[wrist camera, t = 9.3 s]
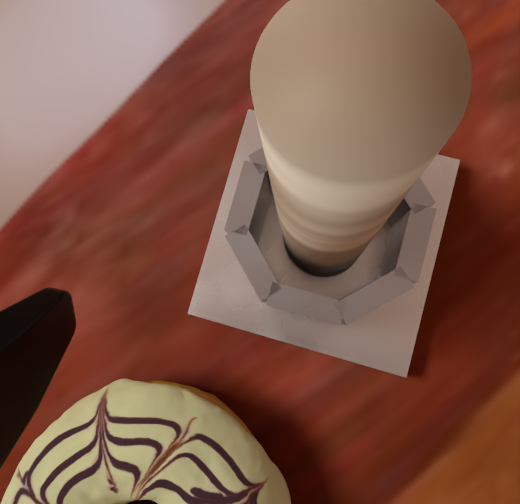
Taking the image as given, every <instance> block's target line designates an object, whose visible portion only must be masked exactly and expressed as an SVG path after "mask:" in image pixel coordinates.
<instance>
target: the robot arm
mask: <svg viewBox="0 0 520 504" xmlns="http://www.w3.org/2000/svg"><path fill="white" fill-rule="evenodd" d="M75 328H76V318H75V313H74V308H73V302H72V297H71V295H70V293H69V292H67V291H64V290H60V289H56V288H45V289H42V290H40V291H39V292H37V293H35V294H33V295H31V296H29V297H27V298H25V299H23V300H21V301H19V302H17V303H15V304H13V305H11V306H10V307H8V308H6V309H4V310H2V311H0V469H1V467H2V466H3V464H4V462H5V461H6V459H7V457H8V456H9V454H10V453H11V451H12V449H13V448H14V446H15V445H16V443H17V441H18V440H19V438H20V436H21V435H22V433H23V432H24V430H25V428H26V427H27V425H28V424H29V422H30V420H31V419H32V417H33V415H34V414H35V412H36V410H37V408H38V407H39V405H40V403H41V401H42V399H43V397H44V395H45V393H46V391H47V389H48V387H49V385H50V383H51V381H52V379H53V377H54V375H55V372H56V370H57V368H58V366H59V364H60V362H61V360H62V358H63V356H64V354H65V351H66V349H67V347H68V345H69V343H70V341H71V339H72V337H73V335H74V332H75Z"/></svg>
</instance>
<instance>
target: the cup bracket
mask: <svg viewBox="0 0 520 504" xmlns="http://www.w3.org/2000/svg"><path fill="white" fill-rule="evenodd" d="M459 163H460V160H458V159H454V158H450V157H446V156H442V155H436V157H435V158H434V159H433V161H432V162H431V163H430V165H429V166H428V167H427V168H426V170H425V171H424V172H423V174H422V175H421V176H420V178H419V179H418V180H417V182H416V183H415V184H414V185H413V187H412V188H411V189H410V191H409V192H408V193H407V195H406V196H405V197H404V199H403V200H402V201H401V203H400V204H399V205H398V206H397V208H396V209H395V210H394V212H393V213H392V214H391V216H390V217H389V218H388V220H387V221H386V222H385V224H384V225H383V226H382V227H381V229H380V230H379V231H378V233H377V234H376V235H375V237H374V238H373V239H372V241H371V242H370V243H369V245H368V246H367V247H366V248H365V250H364V251H363V252H362V254H361V255H360V256H359V258H358V259H357V260H356V262H355V263H354V264H353V265H352V266H351V267H350V268H349V269H347V270H346V271H344V272H343V273H340V274H338V275H335V276H331V277H316V276H312V275H309V274H307V273H305V272H303V271H302V270H300V269H299V268H298V267H296V266H295V265H294V263H293V262H292V261H291V260H290V258H289V256H288V254H287V252H286V249H285V245H284V241H283V236H282V232H281V227H280V222H279V218H278V213H277V209H276V204H275V200H274V195H273V191H272V186H271V182H270V177H269V173H268V168H267V164H266V159H265V155H264V150H263V146H262V141H261V137H260V132H259V128H258V123H257V119H256V114H255V111H254V110H250V109H248V112H247V115H246V119H245V122H244V125H243V129H242V132H241V136H240V139H239V142H238V146H237V149H236V152H235V156H234V159H233V162H232V166H231V169H230V173H229V176H228V179H227V183H226V186H225V189H224V193H223V196H222V199H221V203H220V206H219V210H218V213H217V216H216V220H215V223H214V226H213V230H212V233H211V236H210V240H209V243H208V247H207V250H206V253H205V257H204V260H203V263H202V267H201V270H200V273H199V277H198V280H197V284H196V287H195V290H194V294H193V297H192V300H191V304H190V307H189V310H188V314H190V315H194V316H197V317H201V318H204V319H207V320H211V321H214V322H218V323H221V324H224V325H228V326H231V327H235V328H238V329H242V330H245V331H248V332H252V333H255V334H259V335H262V336H265V337H269V338H272V339H276V340H279V341H283V342H286V343H289V344H293V345H296V346H300V347H303V348H306V349H310V350H313V351H317V352H320V353H324V354H327V355H330V356H334V357H337V358H341V359H344V360H347V361H351V362H354V363H358V364H361V365H365V366H368V367H371V368H375V369H378V370H382V371H385V372H388V373H392V374H395V375H399V376H402V377H407V373H408V369H409V365H410V361H411V357H412V353H413V349H414V345H415V341H416V337H417V333H418V329H419V325H420V321H421V317H422V313H423V309H424V305H425V301H426V297H427V292H428V288H429V284H430V280H431V276H432V272H433V268H434V264H435V260H436V256H437V252H438V248H439V244H440V240H441V236H442V232H443V228H444V224H445V220H446V216H447V211H448V207H449V203H450V199H451V195H452V191H453V187H454V183H455V179H456V175H457V171H458V167H459Z"/></svg>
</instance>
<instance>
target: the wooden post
mask: <svg viewBox="0 0 520 504" xmlns="http://www.w3.org/2000/svg"><path fill="white" fill-rule="evenodd" d="M471 85H472V68H471V60H470V55H469V51H468V47H467V45H466V42H465V40H464V37H463V35H462V33H461V31H460V30H459V28H458V26H457V24H456V23H455V22H454V20H453V19H452V18H451V16H450V15H449V14H448V13H447V12H446V11H445V10H444V9H443V8H442V7H441V6H440V5H439V4H438V3H437V2H436V1H435V0H290V1H289V2H288V3H286V4H285V5H284V6H283V7H282V8H281V9H280V10H279V11H278V12H277V13H276V14H275V15H274V17H273V18H272V19H271V21H270V22H269V23H268V24H267V26H266V28H265V29H264V31H263V33H262V35H261V36H260V39H259V41H258V43H257V46H256V48H255V52H254V55H253V59H252V65H251V72H250V87H251V94H252V100H253V105H254V109H255V114H256V119H257V123H258V128H259V132H260V137H261V141H262V146H263V150H264V155H265V159H266V164H267V168H268V173H269V177H270V182H271V186H272V191H273V195H274V200H275V204H276V209H277V213H278V218H279V222H280V227H281V232H282V236H283V241H284V245H285V249H286V252H287V254H288V256H289V258H290V260H291V261H292V262H293V263H294V265H295V266H296V267H298V268H299V269H300V270H302V271H303V272H305V273H307V274H309V275H312V276H316V277H331V276H335V275H338V274H340V273H343V272H344V271H346V270H347V269H349V268H350V267H351V266H352V265H353V264H354V263H355V262H356V260H357V259H358V258H359V256H360V255H361V254H362V252H363V251H364V250H365V248H366V247H367V246H368V245H369V243H370V242H371V241H372V239H373V238H374V237H375V235H376V234H377V233H378V231H379V230H380V229H381V227H382V226H383V225H384V224H385V222H386V221H387V220H388V218H389V217H390V216H391V214H392V213H393V212H394V210H395V209H396V208H397V206H398V205H399V204H400V203H401V201H402V200H403V199H404V197H405V196H406V195H407V193H408V192H409V191H410V189H411V188H412V187H413V185H414V184H415V183H416V182H417V180H418V179H419V178H420V176H421V175H422V174H423V172H424V171H425V170H426V168H427V167H428V166H429V165H430V163H431V162H432V161H433V159H434V158H435V157H436V155H437V154H438V153H439V151H440V150H441V149H442V147H443V146H444V145H445V144H446V142H447V141H448V140H449V138H450V137H451V135H452V134H453V133H454V131H455V130H456V129H457V127H458V125H459V123H460V121H461V120H462V118H463V116H464V113H465V110H466V108H467V105H468V102H469V97H470V93H471Z"/></svg>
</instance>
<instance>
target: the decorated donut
mask: <svg viewBox="0 0 520 504" xmlns="http://www.w3.org/2000/svg"><path fill="white" fill-rule="evenodd" d="M136 500H152V501H154V502H156V503H158V504H291V499H290V493H289V490H288V487H287V484H286V482H285V479H284V477H283V475H282V474H281V472H280V470H279V469H278V467H277V466H276V465H275V464H274V463H273V462H272V461H271V460H270V459H269V457H268V456H267V454H266V452H265V451H264V449H263V447H262V446H261V445H260V443H259V442H258V441H257V440H256V438H255V437H254V435H253V434H252V433H251V432H250V431H249V429H248V428H247V426H246V425H245V424H244V422H243V421H242V420H241V419H240V418H239V417H238V416H237V415H236V414H235V413H234V412H233V411H232V410H231V409H230V408H229V407H228V406H226V405H225V404H224V403H223V402H222V401H221V400H219V399H218V398H217V397H216V396H215V395H213V394H210V393H207V392H204V391H201V390H200V389H198V388H195V387H191V386H187V385H182V384H178V383H174V382H169V381H147V382H141V381H133V380H130V379H120V380H116V381H114V382H112V383H111V384H109V385H107V386H105V387H104V388H102V389H100V390H99V391H97V392H95V393H92V394H90V395H88V396H87V397H85V398H83V399H81V400H79V401H78V402H77V403H75V404H74V405H73V406H72V407H70V408H69V409H68V410H67V411H65V412H64V413H63V415H62V416H61V417H60V418H59V419H57V420H56V421H55V422H53V423H52V424H51V425H50V426H49V427H48V428H47V429H46V431H45V432H44V433H43V434H42V435H41V436H39V437H38V438H37V439H36V440H35V441H34V442H33V444H32V446H31V447H30V448H29V450H28V451H27V453H26V454H25V455H24V456H23V458H22V460H21V462H20V463H19V465H18V467H17V469H16V471H15V473H14V475H13V478H12V480H11V482H10V484H9V486H8V488H7V490H6V492H5V495H4V497H3V499H2V502H1V504H127V503H129V502H132V501H136Z"/></svg>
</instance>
